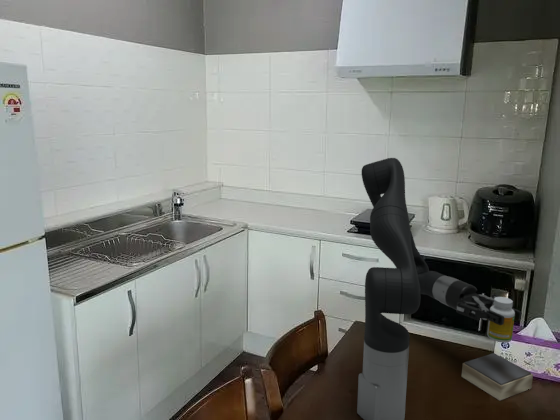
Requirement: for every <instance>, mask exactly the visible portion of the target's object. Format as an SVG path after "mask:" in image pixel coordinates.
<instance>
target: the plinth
mask: <svg viewBox="0 0 560 420" xmlns="http://www.w3.org/2000/svg"><path fill="white" fill-rule="evenodd" d="M533 377H534V374H533V373H532V372H530V371H528V370H527V369H525V368H523V367H521V366H519V365H517V364H515V363H514V362H512V361H509V360H508V359H506V358H504V357H502V356H501V355H499V354H497V353H495V352H493V353H490V354H487V355H483V356H480V357H476V358H475V359H470V360H468V361H465V362H462V367H461V378H463V379H465V380H466V381H468V382H469V383H471V384H472V385H474V386H475V387H477V388H479V389H480V390H483V392H486V393H487V394H488V395H489V396H492V397H493V398H495V399H497V400H498V401H499V402H500V401H503V400H505V399H507V398H509V397H510V398H511V397H513V396H516V395H518V394H520V393H524V392H525V391H529V390H531V389H532V386H533V379H534V378H533ZM528 389H529V390H528Z"/></svg>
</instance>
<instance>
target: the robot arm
mask: <svg viewBox="0 0 560 420" xmlns="http://www.w3.org/2000/svg"><path fill="white" fill-rule="evenodd" d="M405 178H406V177H405V172H404V168H403V164H402V163H401V162H400V160H399V159H398V158H396V157H388V158H385V159H384V158H383V159H381V160H377V161H374V162H371V163H368V164H365V165H362V168H361V179H362V183H363V187H364V188H365V192H366V195H367V196H368V198H369V200H370V203H371V205H372V207H373V208H372V210H371V211H370V217H369V224H370V225H369V227H370V228H369V230H370V232H369V233H370V237H371V239H372V242H373V243H374V244H375V247H377V248H378V249H379V251H381V252H382V254H384V255H385V256H386V257H387V258H388V259H389V260H390V261H391V262H392V264H394V267H384V266H383V267H380V266H379V267H377V266H376V267H375V266H373V267H370V268H369V269H368V270H367V272H366V275H365V278H364V280H365V281H364V307H365V308H364V311H365V312H364V316H365V318H364V333H363V334H364V336H363V355H362V358H363V359H362V360H363V361H362V372H361V373H359V374H358V381H357V383H358V385H357V386H358V387H357V404H356V405H357V406H356V407H357V408H356V413H357V414H358V415H359V417H360V418H361V419H363V420H405V416H406V415H405V414H406V401H407V399H406V398H407V397H406V396H407V383H408V382H407V381H408V371H409V370H408V367H409V366H408V365H409V356H410V355H409V353H410V338H411V336H410V332H409V330H408V329H407V328H406V326H404V325H402V324H400V323H398V322H396V321H394V320H392V319H389V318H388V317H387V316H385V315H383V314H390V315H391V314H392V315H412V314H416V313H417V312H418V310H419V308H420V307H421V306H420V305H421V295H426V296H429V297H430V298H432V299H434V300H436V301H439V303H441V304H443V305H445V306H447V307H449V308H452V310H456V313H457V314H459V315H462V316H464V317H468V318H469V319H472V320H475V321H480V320H481V319H482V320H483V321H489V320H490V321H492V322H494V323H496V324H498V325H503V324H504V316H502V315H500V314H498V313H495V312H493V311H491V310H490V308H491V307H492V306H493V305H494V298H495V297H501V296H500V295H499V294H496V293H492V294H491V296H490V297H489V296H487V295H485V294H480V292H479V291H478V289H477V287H476V286H474V285H473V284H469V283H467V282H465V281H462V280H461V279H460V280H459V279H457V278H455V277H453V276H449V275H448V276H447V275H445V274H443V273H440V272H438V271H435V270H430V269H429V268H430V267H429V266H428V263H426V261H425V260H424V258H423V256H422V254H421V253H420V251H419V250H418V248H417V246H416V243H415V240H414V236H413V233H412V230H411V225H410V217H409V213H408V212H409V211H408V208H407V201H406V180H405ZM512 309H513V310H514V312H515V317H514V320H515V321H520V320H521V319H522V311H521V310H518V309H516V308H514V307H512Z"/></svg>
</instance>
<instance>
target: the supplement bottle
mask: <svg viewBox="0 0 560 420" xmlns="http://www.w3.org/2000/svg"><path fill="white" fill-rule="evenodd" d="M513 302H514V301H513V300H512V299H511V298H509V297H505V296H500V297H495V298H494V305H493V304H492V307H491V308H490V310H491V311H493V312H495V313H498V314H500V315H502V316H504V324H503V325H498V324H496V323H494V322H492V321H490V320H488V323H487V330H486V331H487V332H486V333H487V337H488V338H489V339H490V340H492V341H494V342H497V343H502V344H503V343H506V344H507V343H510V342H511V341H512V340H513V332H514V325H515V319H514V317H515V312H514V310H513V309H512V308H513V304H514V303H513Z"/></svg>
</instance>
